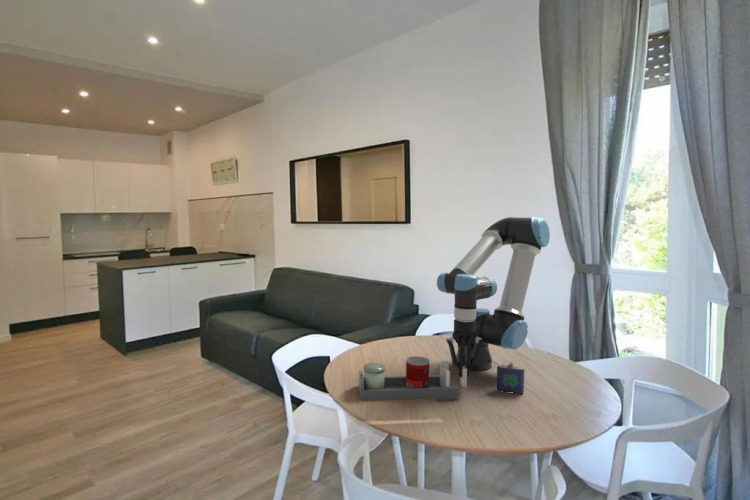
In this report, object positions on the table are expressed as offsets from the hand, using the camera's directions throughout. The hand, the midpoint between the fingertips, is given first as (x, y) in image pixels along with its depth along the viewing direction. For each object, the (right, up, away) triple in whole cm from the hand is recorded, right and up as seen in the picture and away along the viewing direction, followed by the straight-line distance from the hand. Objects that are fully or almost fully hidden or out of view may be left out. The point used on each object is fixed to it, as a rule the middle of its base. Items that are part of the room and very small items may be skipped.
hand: (463, 385), depth 150 cm
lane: (-20, -2, -2) cm, 20 cm away
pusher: (-7, -1, 0) cm, 7 cm away
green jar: (-31, -1, -3) cm, 31 cm away
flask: (+17, -3, +1) cm, 17 cm away
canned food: (-16, -2, -1) cm, 16 cm away
